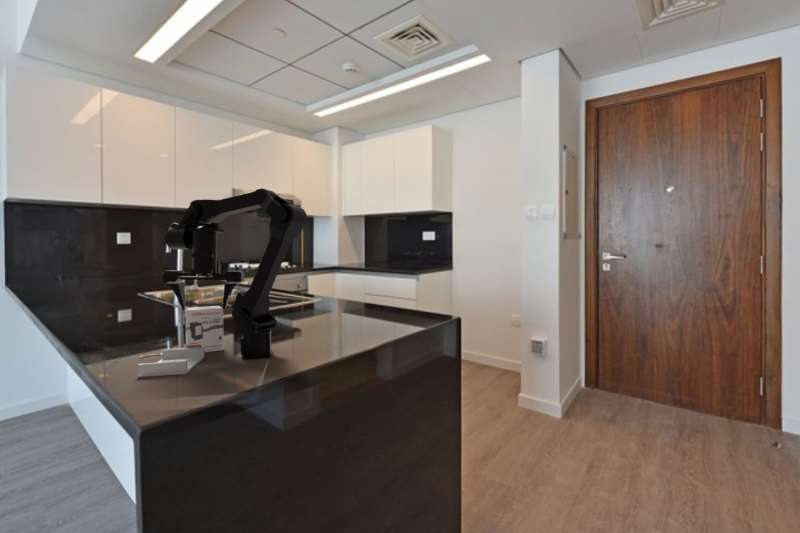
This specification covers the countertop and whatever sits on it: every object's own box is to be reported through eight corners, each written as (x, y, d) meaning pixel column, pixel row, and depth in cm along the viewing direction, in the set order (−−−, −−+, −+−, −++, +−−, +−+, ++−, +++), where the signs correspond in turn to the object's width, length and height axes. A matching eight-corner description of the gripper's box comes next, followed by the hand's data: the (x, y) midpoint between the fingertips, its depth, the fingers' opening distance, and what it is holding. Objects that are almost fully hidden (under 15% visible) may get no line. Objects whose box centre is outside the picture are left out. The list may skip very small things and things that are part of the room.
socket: (204, 357, 96) (204, 347, 96) (186, 373, 82) (185, 362, 82) (163, 359, 94) (163, 349, 94) (137, 377, 80) (137, 364, 80)
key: (166, 354, 99) (166, 352, 99) (166, 356, 97) (166, 353, 97) (139, 357, 96) (139, 355, 96) (139, 359, 94) (139, 357, 94)
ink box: (187, 356, 98) (186, 309, 98) (185, 352, 102) (185, 307, 102) (224, 352, 102) (223, 307, 102) (221, 348, 107) (220, 305, 106)
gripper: (247, 250, 112) (247, 305, 112) (175, 249, 107) (175, 306, 108) (241, 250, 101) (240, 310, 101) (160, 248, 96) (160, 311, 97)
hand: (204, 309), depth 102 cm, fingers closed on ink box, 9 cm apart
